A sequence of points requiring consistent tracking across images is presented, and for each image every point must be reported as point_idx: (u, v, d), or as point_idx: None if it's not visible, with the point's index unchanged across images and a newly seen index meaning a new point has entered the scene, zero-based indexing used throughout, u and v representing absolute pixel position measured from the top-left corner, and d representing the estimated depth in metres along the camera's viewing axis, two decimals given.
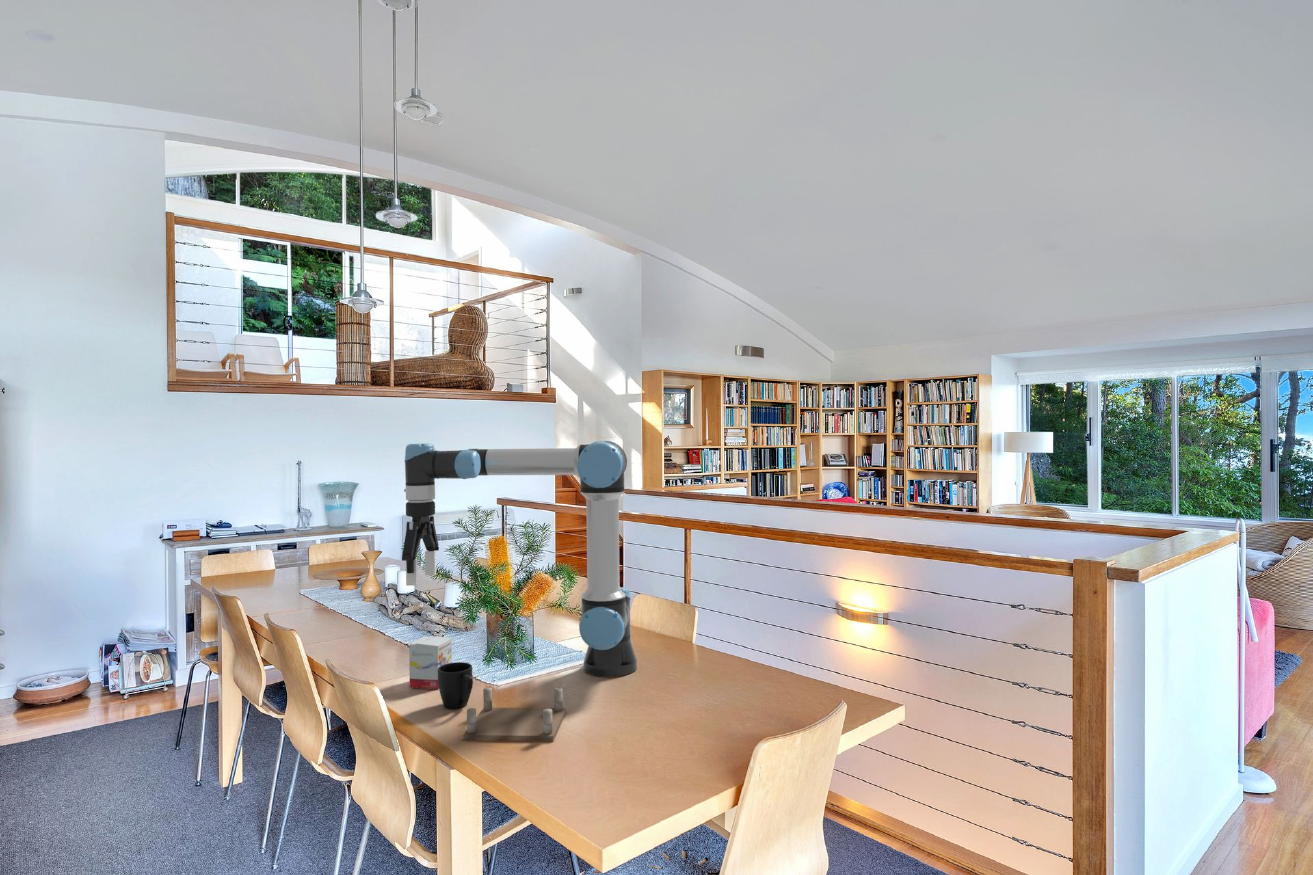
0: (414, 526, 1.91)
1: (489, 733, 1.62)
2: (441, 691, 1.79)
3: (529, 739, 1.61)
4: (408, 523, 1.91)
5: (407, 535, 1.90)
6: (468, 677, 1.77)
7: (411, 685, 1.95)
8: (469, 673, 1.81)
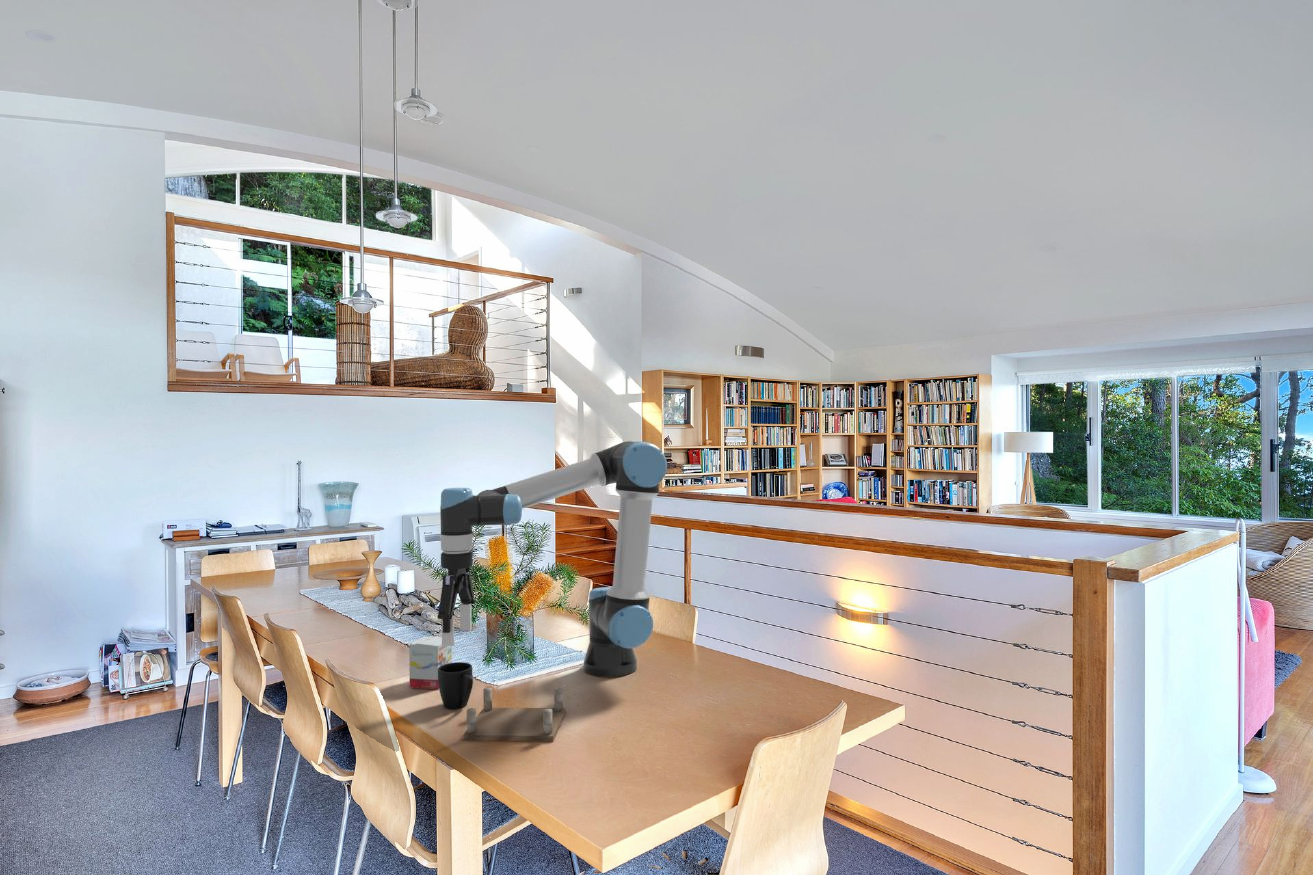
0: (451, 581, 1.74)
1: (489, 733, 1.62)
2: (441, 691, 1.79)
3: (529, 739, 1.61)
4: (444, 577, 1.74)
5: (443, 591, 1.73)
6: (468, 677, 1.77)
7: (411, 685, 1.95)
8: (469, 673, 1.81)
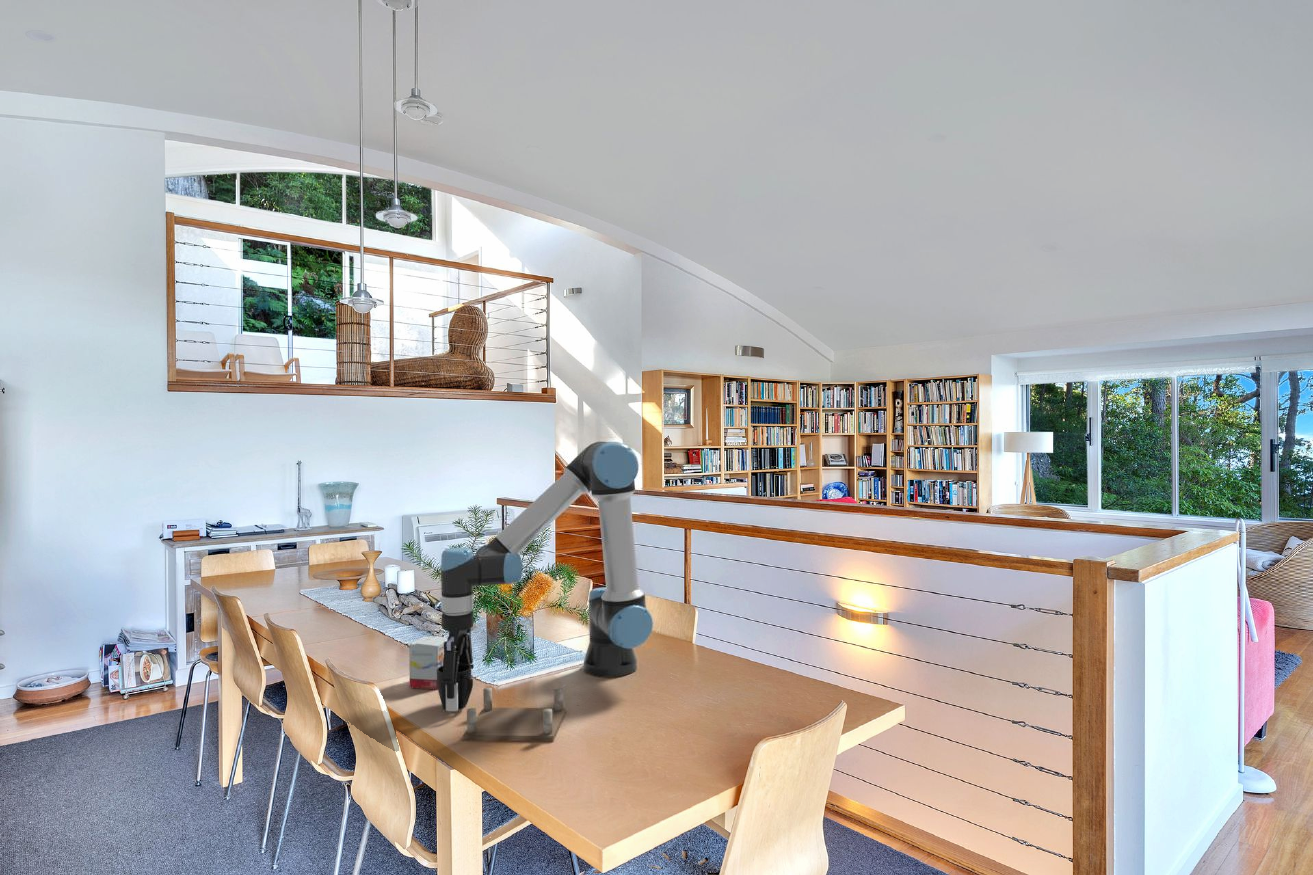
0: (452, 647, 1.74)
1: (489, 733, 1.62)
2: (440, 692, 1.79)
3: (529, 739, 1.61)
4: (445, 644, 1.74)
5: (445, 657, 1.74)
6: (468, 678, 1.76)
7: (411, 685, 1.95)
8: (468, 674, 1.80)
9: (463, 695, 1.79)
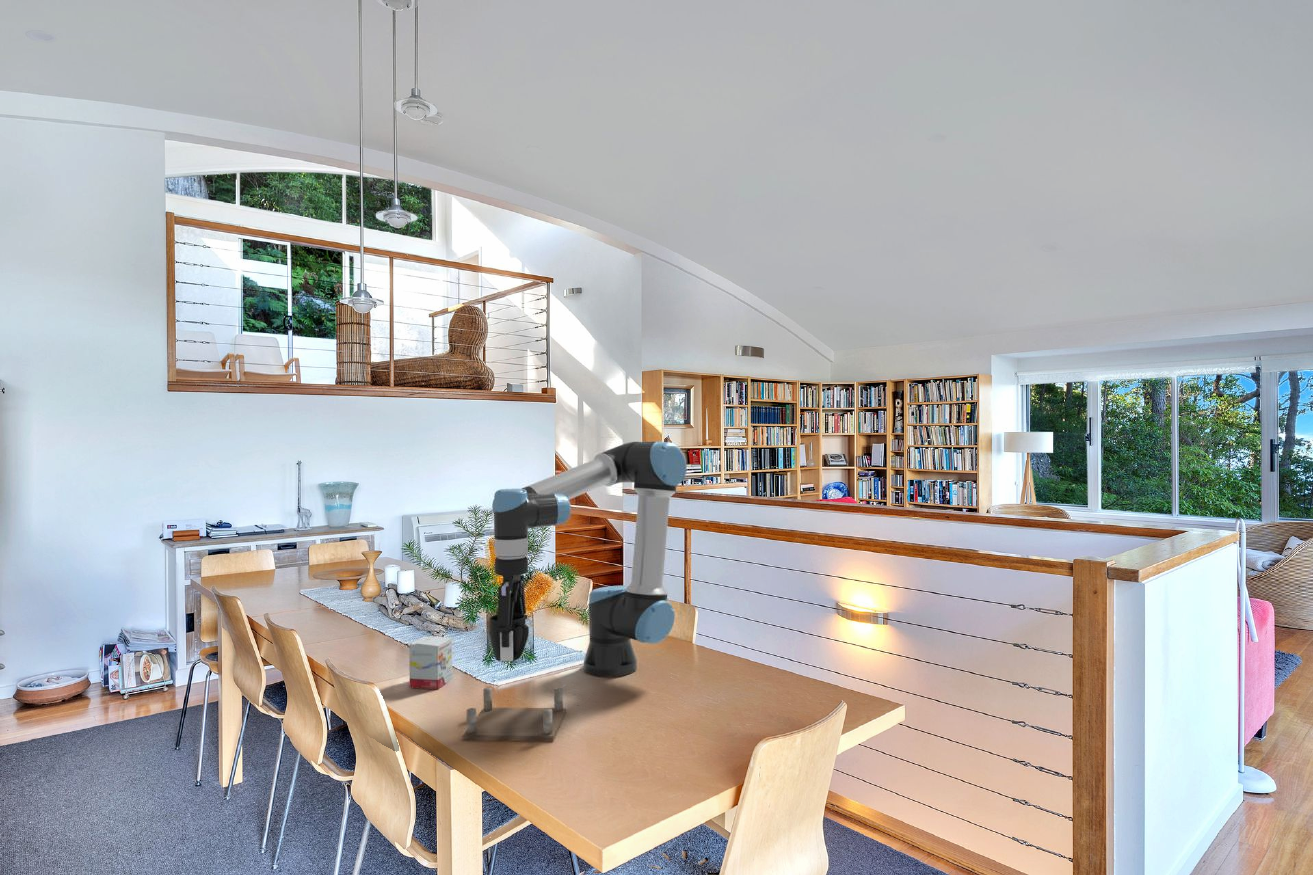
0: (507, 592, 1.62)
1: (489, 733, 1.62)
2: (493, 642, 1.67)
3: (529, 739, 1.61)
4: (500, 589, 1.62)
5: (500, 603, 1.62)
6: (524, 626, 1.64)
7: (411, 685, 1.95)
8: (523, 623, 1.69)
9: (517, 645, 1.68)
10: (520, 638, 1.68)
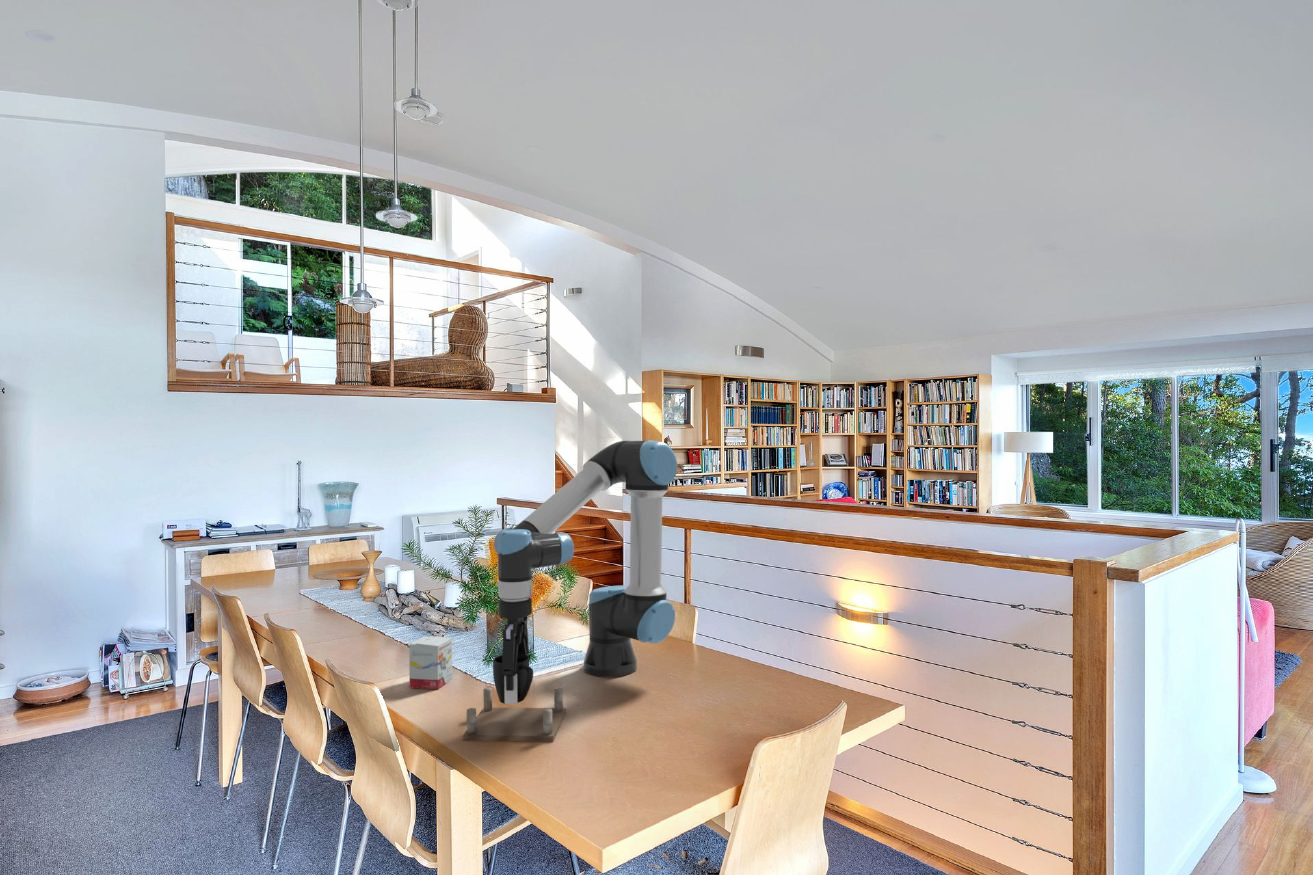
0: (512, 635, 1.62)
1: (489, 733, 1.62)
2: (497, 684, 1.67)
3: (529, 739, 1.61)
4: (504, 632, 1.62)
5: (505, 646, 1.62)
6: (528, 668, 1.64)
7: (411, 685, 1.95)
8: (527, 664, 1.68)
9: (522, 687, 1.67)
10: (524, 680, 1.67)
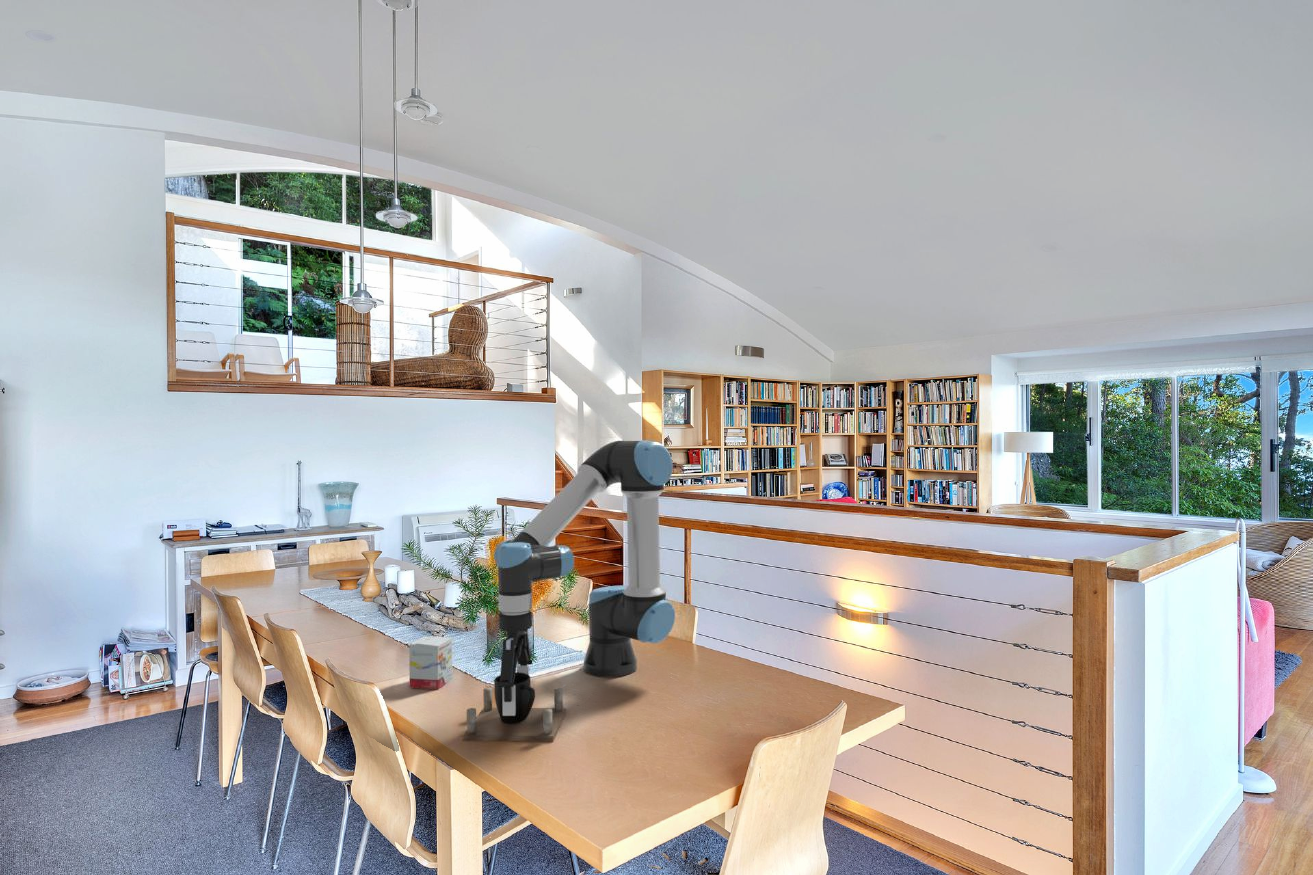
0: (512, 646, 1.62)
1: (489, 733, 1.62)
2: (499, 704, 1.67)
3: (529, 739, 1.61)
4: (505, 642, 1.62)
5: (504, 657, 1.61)
6: (530, 689, 1.65)
7: (411, 685, 1.95)
8: (528, 684, 1.69)
9: (523, 707, 1.68)
10: (526, 700, 1.68)
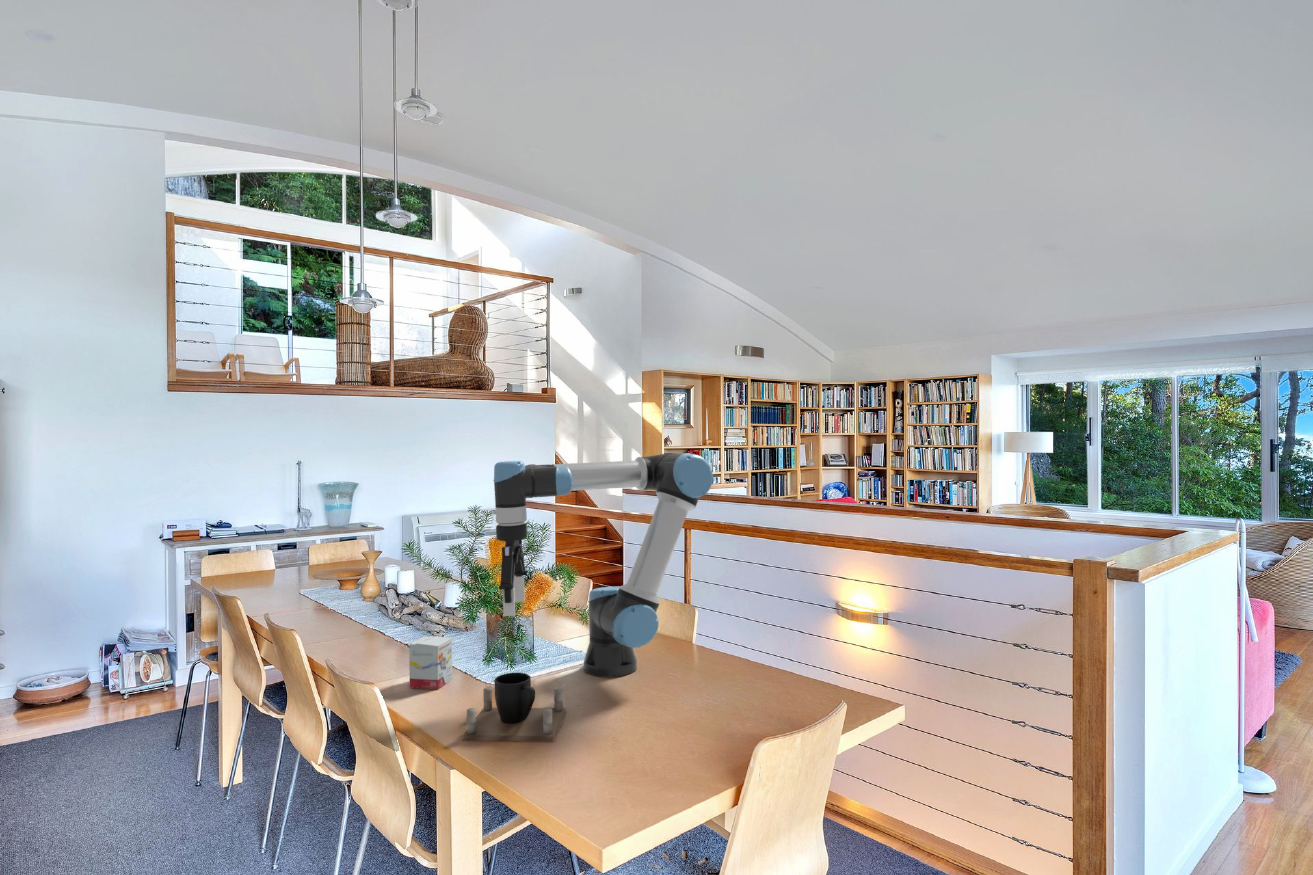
0: (510, 552, 1.76)
1: (489, 733, 1.62)
2: (499, 704, 1.67)
3: (529, 739, 1.61)
4: (504, 549, 1.76)
5: (503, 562, 1.75)
6: (530, 689, 1.65)
7: (411, 685, 1.95)
8: (528, 684, 1.69)
9: (523, 707, 1.68)
10: (526, 700, 1.68)
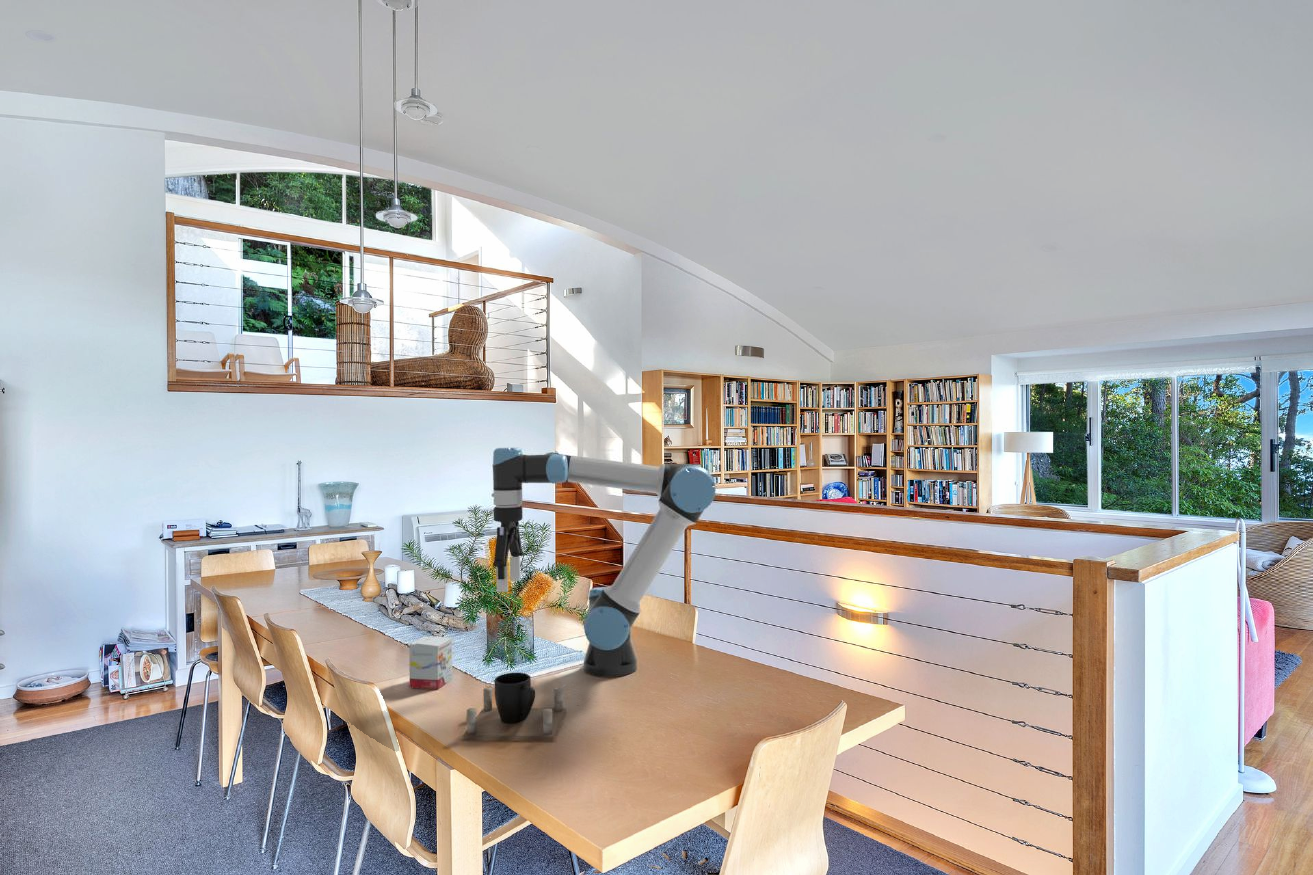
0: (505, 531, 1.88)
1: (489, 733, 1.62)
2: (499, 704, 1.67)
3: (529, 739, 1.61)
4: (498, 528, 1.88)
5: (498, 541, 1.87)
6: (530, 689, 1.65)
7: (411, 685, 1.95)
8: (528, 684, 1.69)
9: (523, 707, 1.68)
10: (526, 700, 1.68)
